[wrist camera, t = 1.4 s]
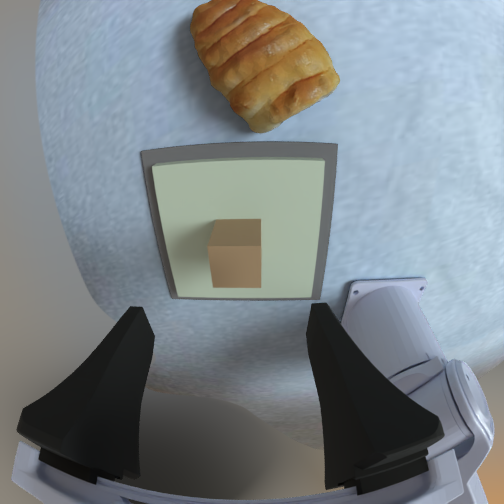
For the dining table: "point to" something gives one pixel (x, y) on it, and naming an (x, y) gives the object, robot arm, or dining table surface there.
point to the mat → (238, 151)
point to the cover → (241, 225)
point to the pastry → (261, 60)
